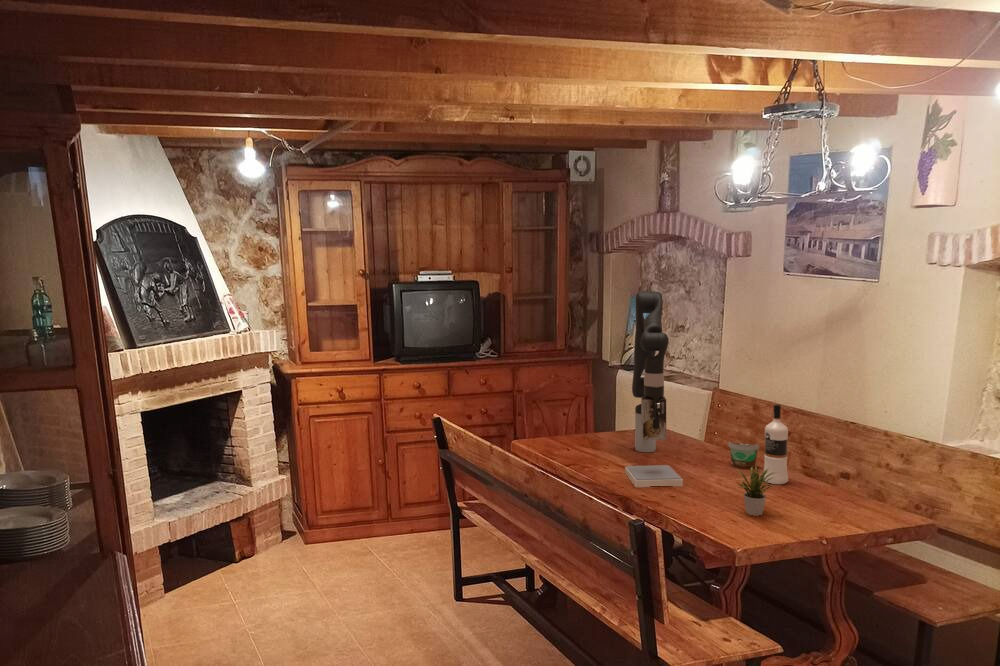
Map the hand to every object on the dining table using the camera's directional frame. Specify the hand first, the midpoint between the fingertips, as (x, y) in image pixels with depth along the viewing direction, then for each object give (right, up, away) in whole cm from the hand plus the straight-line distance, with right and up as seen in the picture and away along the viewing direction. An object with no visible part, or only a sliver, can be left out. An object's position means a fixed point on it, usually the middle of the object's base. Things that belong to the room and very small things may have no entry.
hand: (653, 426), depth 271 cm
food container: (+41, -19, +17) cm, 48 cm away
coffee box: (0, -5, +1) cm, 5 cm away
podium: (0, -21, +2) cm, 21 cm away
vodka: (+46, -21, -2) cm, 51 cm away
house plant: (+27, -25, -37) cm, 52 cm away
